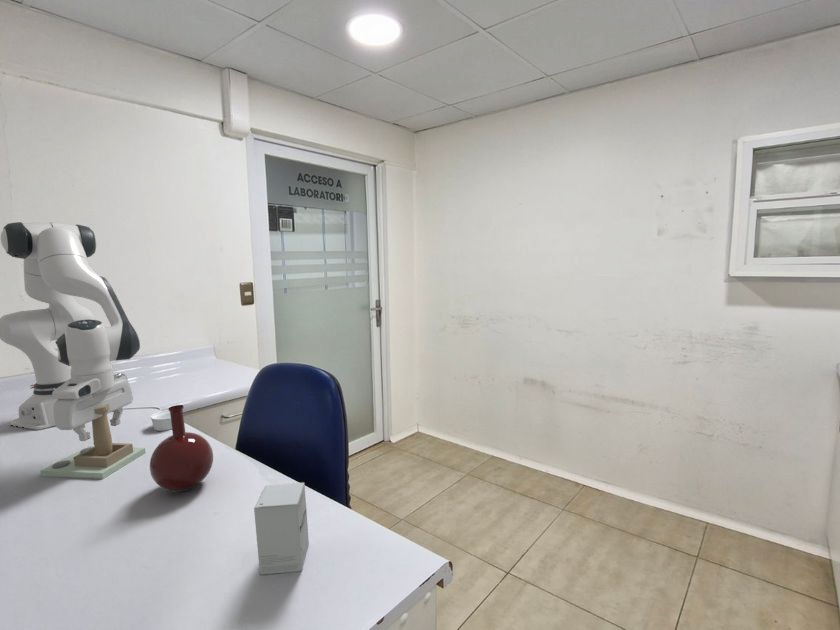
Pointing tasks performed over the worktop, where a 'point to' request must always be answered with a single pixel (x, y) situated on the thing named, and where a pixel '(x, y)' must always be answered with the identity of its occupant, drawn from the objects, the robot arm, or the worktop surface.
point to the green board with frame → (93, 462)
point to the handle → (102, 432)
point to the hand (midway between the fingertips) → (101, 432)
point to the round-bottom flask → (181, 456)
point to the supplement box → (281, 528)
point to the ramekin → (162, 420)
